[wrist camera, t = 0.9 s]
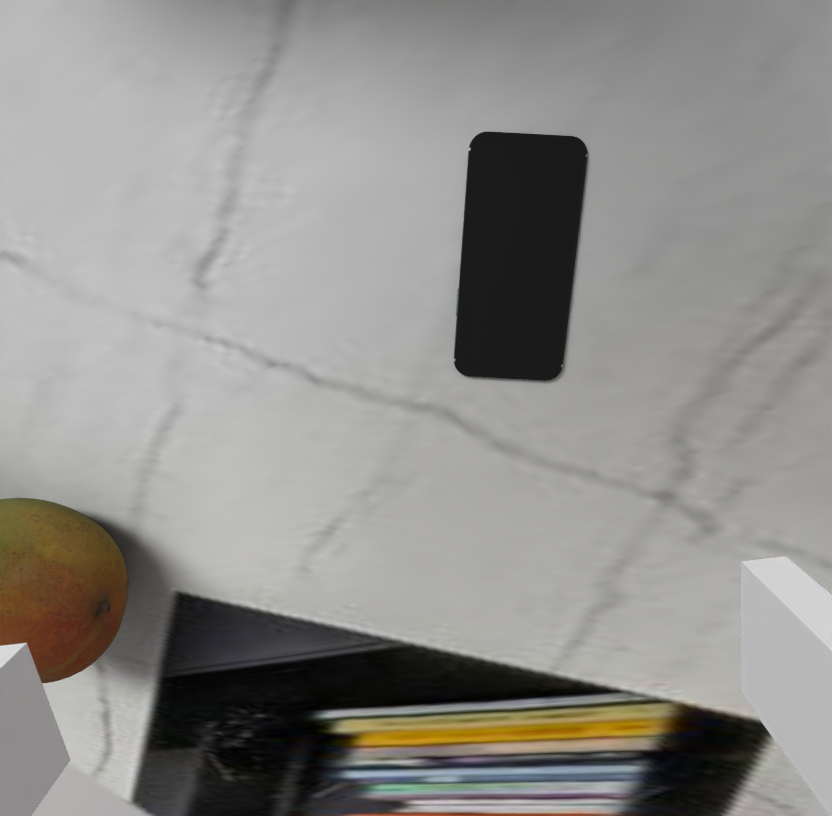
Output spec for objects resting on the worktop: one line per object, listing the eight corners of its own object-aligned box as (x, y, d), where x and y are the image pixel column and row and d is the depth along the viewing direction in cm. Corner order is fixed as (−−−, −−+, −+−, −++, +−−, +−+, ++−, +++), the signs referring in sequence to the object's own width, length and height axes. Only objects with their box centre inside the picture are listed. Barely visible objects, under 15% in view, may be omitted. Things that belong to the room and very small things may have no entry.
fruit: (152, 628, 44) (74, 733, 34) (-12, 610, 44) (-137, 709, 34) (152, 487, 41) (67, 558, 31) (-24, 467, 41) (-164, 531, 31)
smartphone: (590, 136, 34) (561, 381, 38) (587, 139, 35) (559, 379, 39) (469, 130, 34) (452, 375, 38) (468, 132, 35) (451, 373, 39)
